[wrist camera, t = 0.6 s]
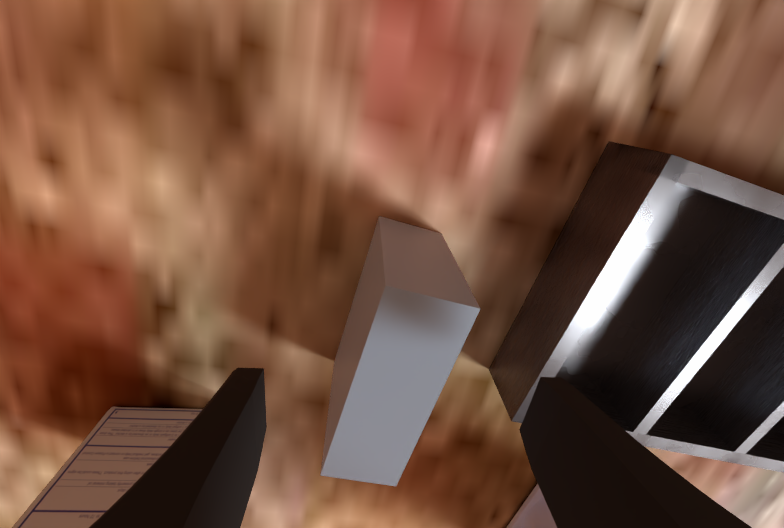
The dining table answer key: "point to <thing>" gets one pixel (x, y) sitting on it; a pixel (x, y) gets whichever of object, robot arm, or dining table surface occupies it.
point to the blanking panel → (395, 352)
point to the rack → (663, 309)
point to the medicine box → (106, 466)
